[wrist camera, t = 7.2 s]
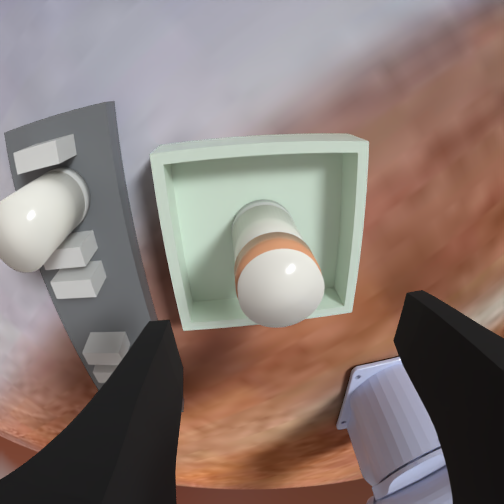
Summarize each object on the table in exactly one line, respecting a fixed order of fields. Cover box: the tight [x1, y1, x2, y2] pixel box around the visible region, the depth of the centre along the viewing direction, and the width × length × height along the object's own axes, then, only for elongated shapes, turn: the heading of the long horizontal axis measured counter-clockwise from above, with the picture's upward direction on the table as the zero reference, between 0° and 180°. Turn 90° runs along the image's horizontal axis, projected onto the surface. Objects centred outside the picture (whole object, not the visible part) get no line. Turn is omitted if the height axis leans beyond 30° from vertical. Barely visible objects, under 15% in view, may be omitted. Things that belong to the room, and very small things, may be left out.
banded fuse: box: [231, 199, 325, 327], centre depth 13 cm, size 3×3×6 cm
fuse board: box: [4, 101, 184, 412], centre depth 16 cm, size 21×6×3 cm, turn 3°
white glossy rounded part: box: [0, 167, 91, 273], centre depth 11 cm, size 3×3×4 cm
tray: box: [150, 134, 369, 331], centre depth 15 cm, size 9×9×2 cm
